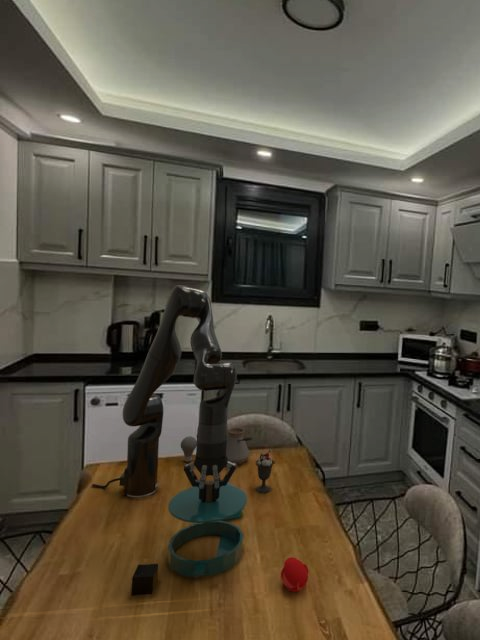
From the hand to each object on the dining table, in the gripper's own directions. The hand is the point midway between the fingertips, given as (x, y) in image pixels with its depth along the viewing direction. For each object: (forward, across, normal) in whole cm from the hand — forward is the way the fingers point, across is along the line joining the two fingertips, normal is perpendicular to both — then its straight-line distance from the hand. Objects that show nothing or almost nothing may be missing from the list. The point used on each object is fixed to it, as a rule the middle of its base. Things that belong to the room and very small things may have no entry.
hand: (209, 499), depth 115 cm
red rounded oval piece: (+16, -23, +14) cm, 31 cm away
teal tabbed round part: (+16, 0, 0) cm, 16 cm away
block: (+16, +12, +12) cm, 23 cm away
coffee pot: (+16, -4, -56) cm, 58 cm away
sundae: (+16, -14, -36) cm, 42 cm away
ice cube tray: (+16, 0, -25) cm, 29 cm away
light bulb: (+16, +16, -61) cm, 65 cm away
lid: (+1, 0, 0) cm, 1 cm away
